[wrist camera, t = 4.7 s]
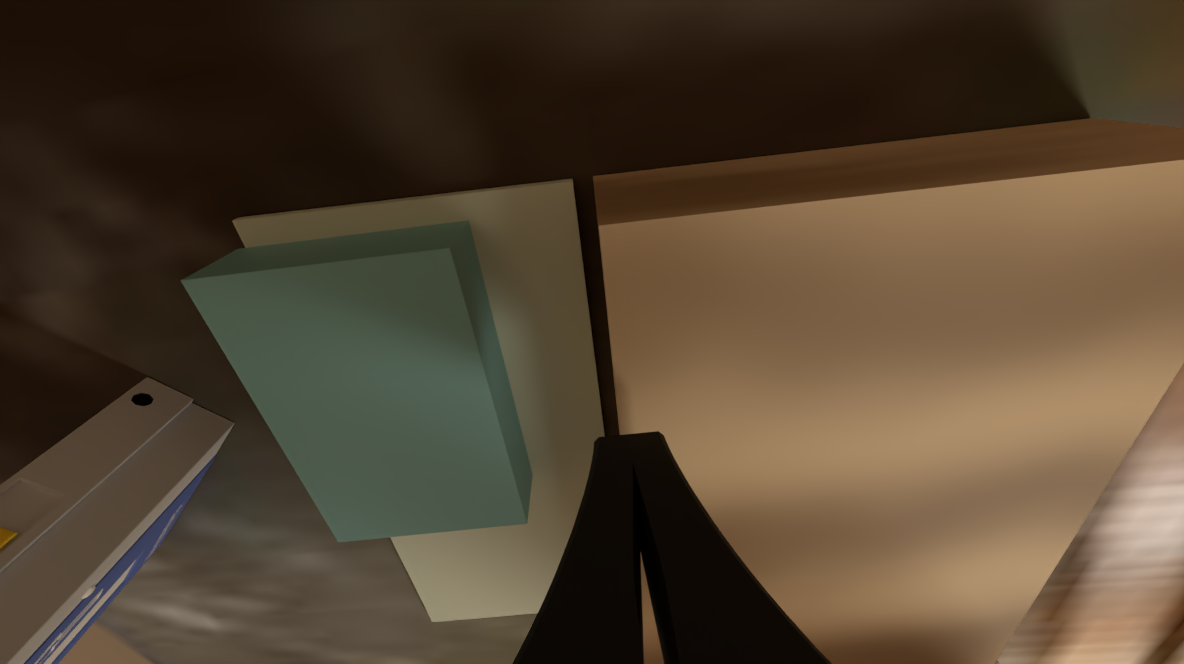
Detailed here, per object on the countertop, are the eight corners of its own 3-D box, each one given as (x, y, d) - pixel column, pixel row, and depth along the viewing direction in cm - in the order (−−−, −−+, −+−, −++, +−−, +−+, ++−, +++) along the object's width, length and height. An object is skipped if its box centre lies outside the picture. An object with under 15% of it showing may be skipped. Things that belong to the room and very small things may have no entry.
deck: (915, 573, 20) (984, 679, 17) (636, 597, 21) (648, 706, 17) (1092, 117, 11) (1321, 144, 8) (592, 175, 12) (598, 226, 8)
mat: (625, 598, 21) (625, 605, 20) (434, 615, 21) (432, 622, 21) (572, 178, 12) (572, 181, 11) (239, 217, 12) (231, 220, 12)
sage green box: (338, 542, 15) (363, 491, 17) (527, 523, 15) (532, 474, 16) (180, 280, 10) (237, 248, 12) (450, 248, 10) (468, 220, 12)
